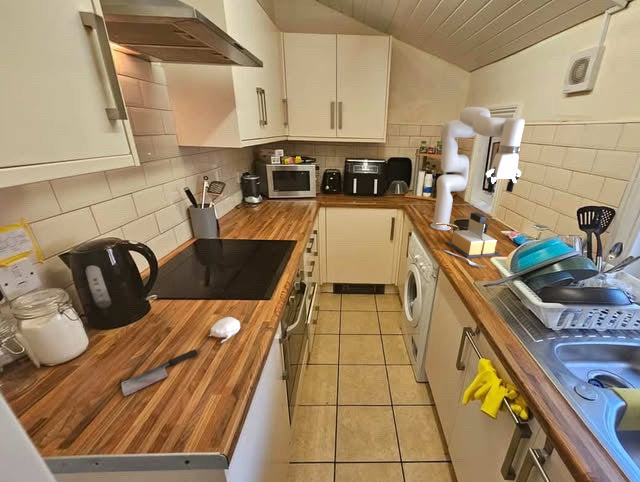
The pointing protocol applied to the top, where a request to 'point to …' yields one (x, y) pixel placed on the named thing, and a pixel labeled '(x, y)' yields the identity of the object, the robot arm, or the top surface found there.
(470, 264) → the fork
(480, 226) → the knife
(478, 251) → the cake
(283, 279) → the top surface
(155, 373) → the cleaver
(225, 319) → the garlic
